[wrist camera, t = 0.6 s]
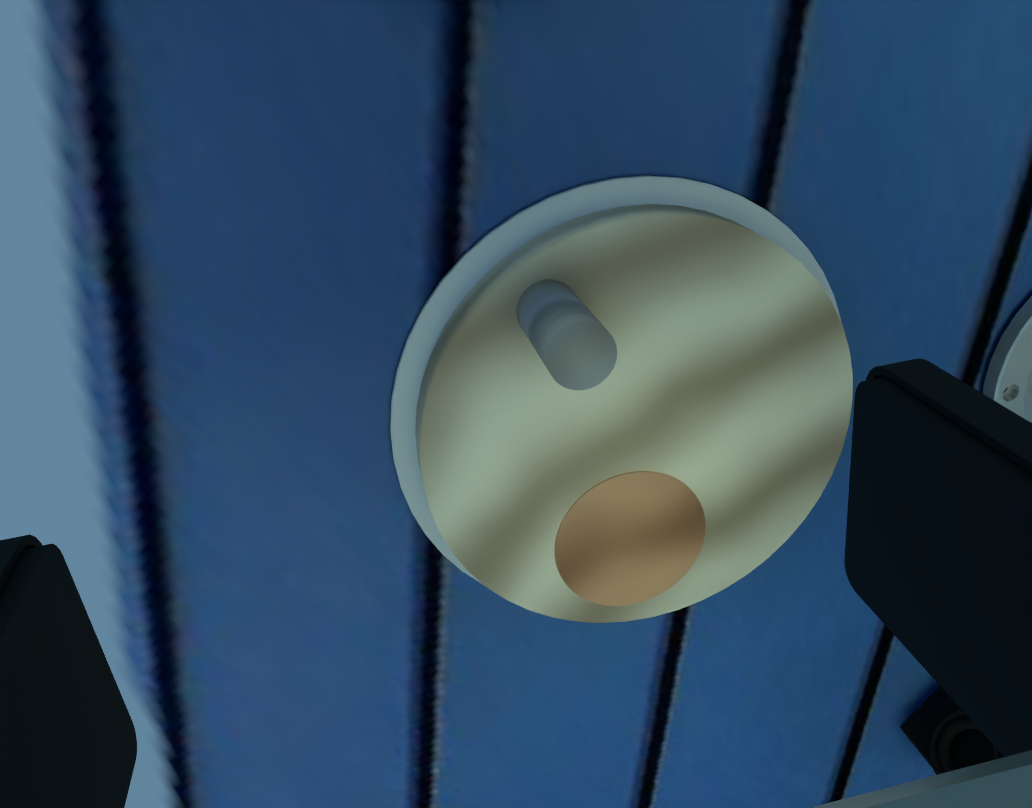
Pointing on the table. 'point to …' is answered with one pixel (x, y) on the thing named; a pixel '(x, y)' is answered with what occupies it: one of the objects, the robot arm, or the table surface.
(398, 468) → the dial base
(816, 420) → the dial
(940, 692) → the digital camera
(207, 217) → the table surface
